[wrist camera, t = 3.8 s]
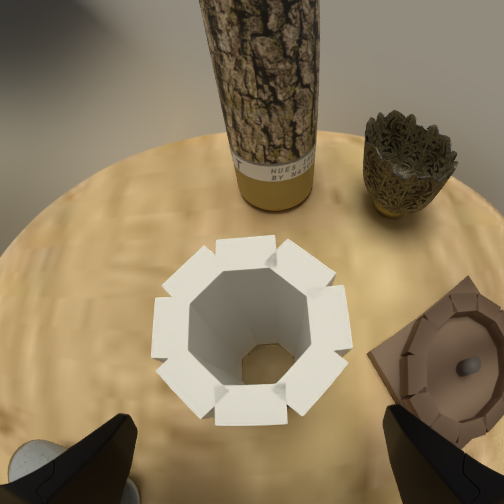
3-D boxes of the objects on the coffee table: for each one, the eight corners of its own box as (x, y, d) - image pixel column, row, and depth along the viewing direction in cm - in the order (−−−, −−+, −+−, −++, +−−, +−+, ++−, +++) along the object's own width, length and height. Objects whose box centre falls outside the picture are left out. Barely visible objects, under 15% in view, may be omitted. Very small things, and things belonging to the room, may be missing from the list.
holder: (517, 378, 15) (537, 372, 12) (430, 468, 13) (448, 474, 11) (462, 280, 20) (478, 265, 18) (366, 353, 19) (378, 345, 16)
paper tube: (315, 163, 28) (313, -102, 6) (309, 219, 24) (308, -124, 3) (247, 158, 29) (204, -93, 7) (231, 210, 26) (154, -101, 4)
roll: (330, 363, 19) (386, 310, 8) (270, 428, 17) (252, 465, 6) (265, 311, 21) (244, 208, 11) (207, 371, 19) (120, 326, 9)
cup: (335, 211, 25) (348, 139, 18) (370, 165, 27) (385, 99, 20) (408, 255, 22) (448, 194, 15) (433, 201, 24) (464, 140, 17)
